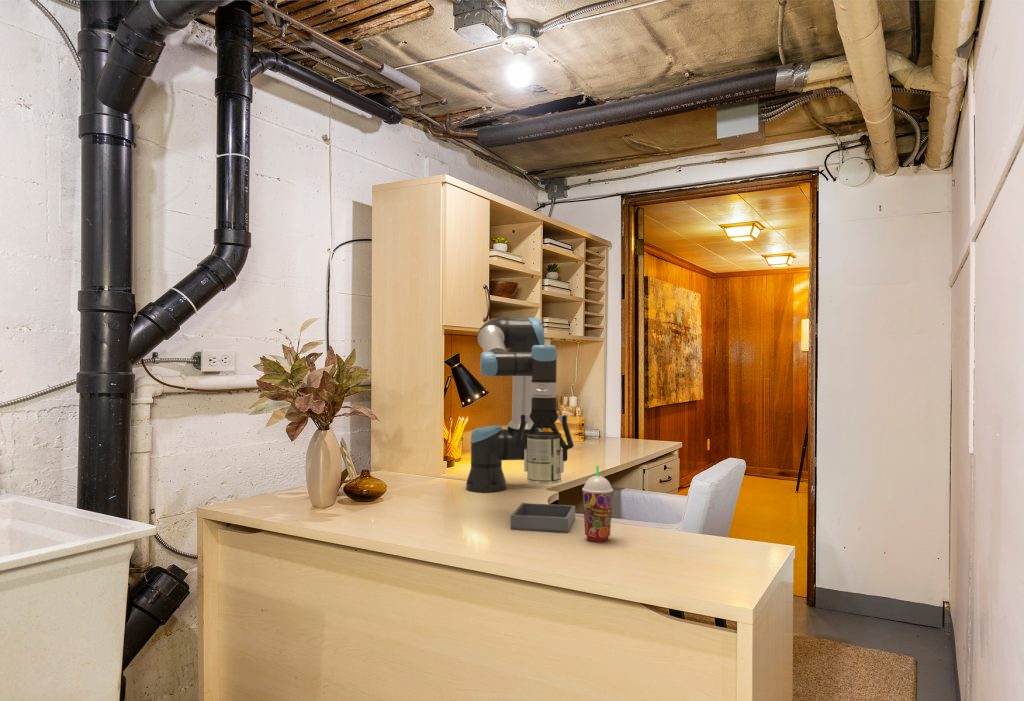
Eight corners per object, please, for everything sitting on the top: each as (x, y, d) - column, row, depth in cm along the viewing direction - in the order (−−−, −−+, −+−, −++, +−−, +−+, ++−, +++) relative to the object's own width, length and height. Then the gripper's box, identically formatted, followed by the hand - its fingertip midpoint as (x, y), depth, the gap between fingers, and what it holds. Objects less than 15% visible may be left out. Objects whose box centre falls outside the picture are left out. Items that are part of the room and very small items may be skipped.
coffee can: (527, 477, 201) (528, 431, 201) (561, 478, 200) (561, 431, 200) (525, 483, 190) (525, 435, 191) (560, 484, 189) (560, 435, 190)
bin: (522, 515, 205) (522, 503, 205) (575, 518, 201) (575, 505, 201) (510, 529, 189) (510, 515, 189) (568, 532, 185) (568, 518, 185)
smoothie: (593, 545, 173) (593, 469, 173) (576, 537, 181) (576, 464, 181) (619, 541, 177) (619, 466, 177) (601, 533, 184) (601, 462, 185)
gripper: (504, 396, 194) (504, 472, 194) (580, 397, 189) (580, 475, 189) (509, 395, 202) (509, 468, 201) (583, 396, 197) (583, 470, 196)
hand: (544, 471), depth 195 cm, fingers closed on coffee can, 10 cm apart
